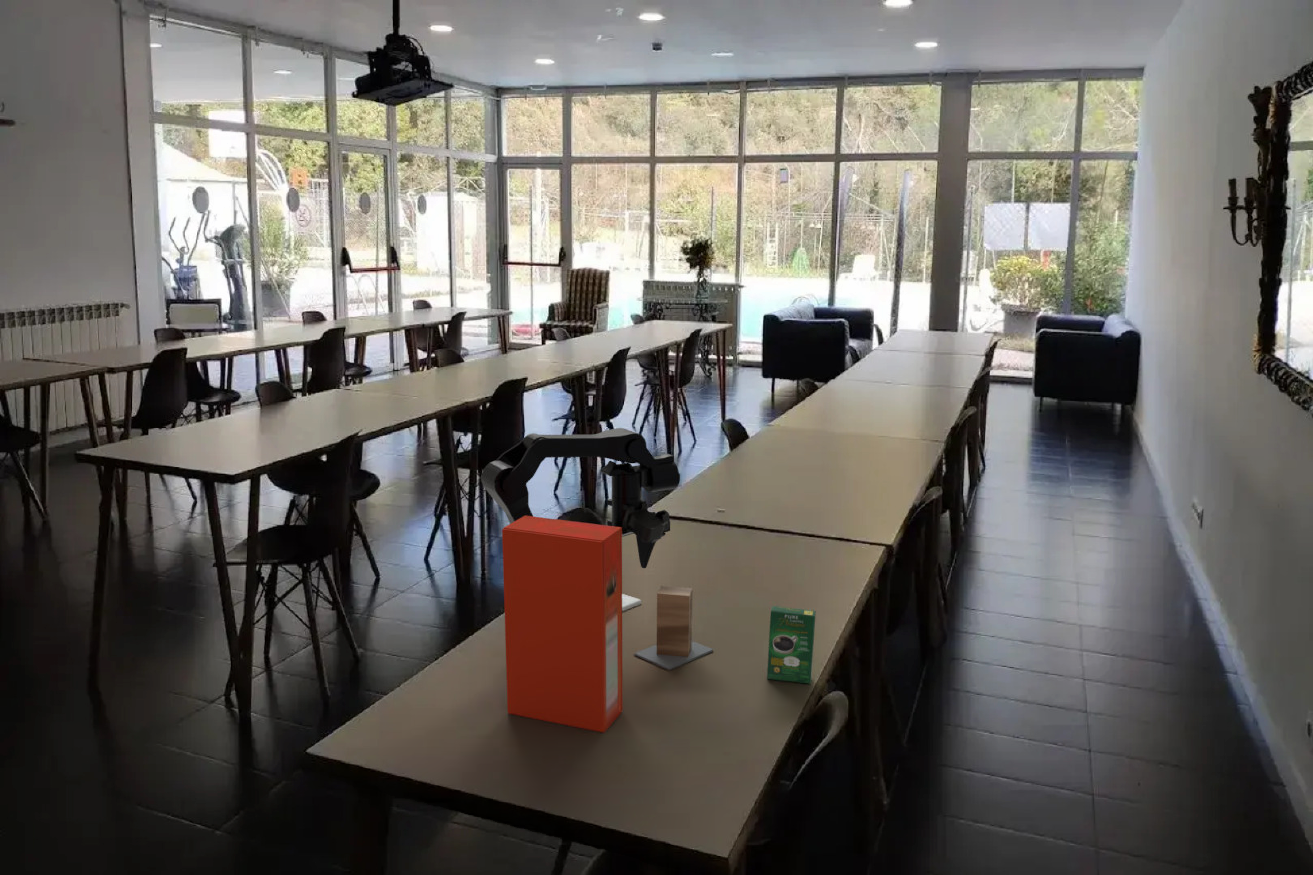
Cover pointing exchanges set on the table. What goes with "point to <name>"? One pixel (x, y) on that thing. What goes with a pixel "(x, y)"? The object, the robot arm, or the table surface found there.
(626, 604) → the external hard drive
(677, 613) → the tall wooden block tower
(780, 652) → the coffee box
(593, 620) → the file binder
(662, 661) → the mat
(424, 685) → the table surface
